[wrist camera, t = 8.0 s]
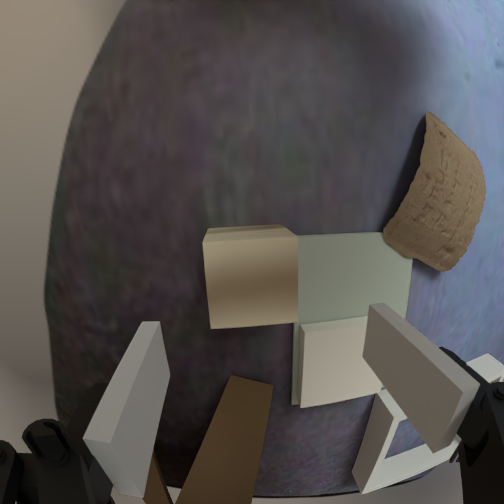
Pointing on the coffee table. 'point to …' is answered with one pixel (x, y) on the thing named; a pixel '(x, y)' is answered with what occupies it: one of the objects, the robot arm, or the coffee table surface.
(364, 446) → the white open rectangular frame
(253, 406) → the photo frame
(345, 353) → the tile
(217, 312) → the block
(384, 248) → the mat
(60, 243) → the coffee table surface
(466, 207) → the clay tablet
